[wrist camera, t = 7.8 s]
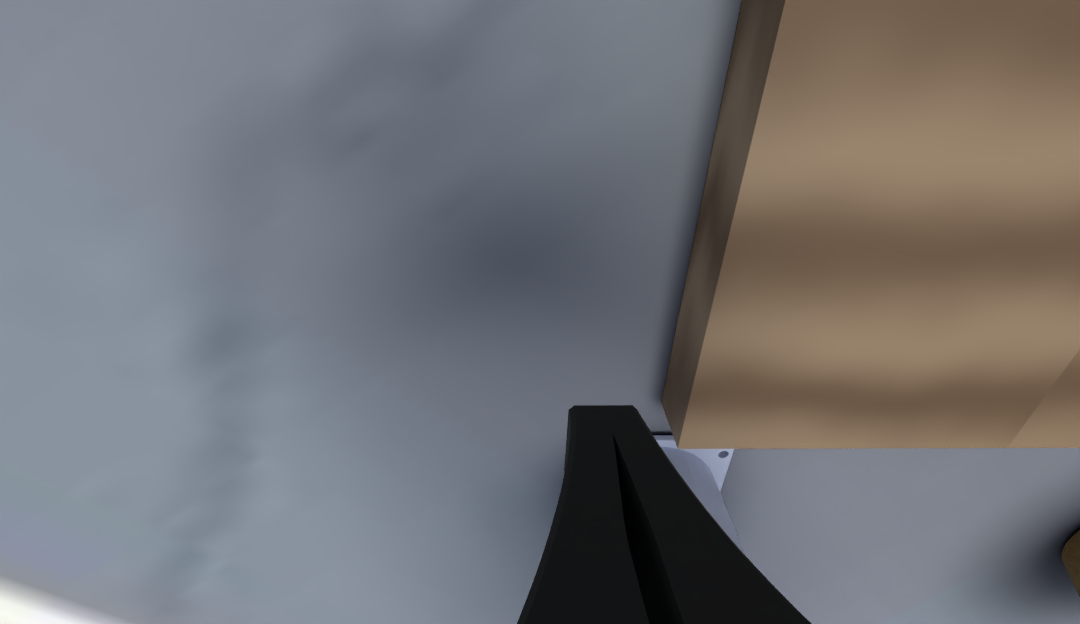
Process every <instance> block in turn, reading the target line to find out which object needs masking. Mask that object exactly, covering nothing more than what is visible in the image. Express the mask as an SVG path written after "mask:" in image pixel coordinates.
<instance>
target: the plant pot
mask: <svg viewBox="0 0 1080 624" xmlns="http://www.w3.org/2000/svg"><path fill="white" fill-rule="evenodd" d="M1062 561H1063V563H1064V565H1065V568H1066V570H1067V572H1068V574H1069V576H1070V578H1071V580H1072V582H1073V584H1074V586H1075V588H1076V590H1077V592H1078V594H1079V596H1080V530H1079V531H1078V532H1076V533H1075V534H1074V535H1073V536H1072V537H1071V538H1070V539H1069V540H1068V542H1067V543H1066V544H1065V546H1064V548H1063V550H1062Z"/></svg>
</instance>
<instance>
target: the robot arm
mask: <svg viewBox="0 0 1080 624" xmlns="http://www.w3.org/2000/svg"><path fill="white" fill-rule="evenodd" d="M722 451H723V452H722ZM733 451H734V449H678V448H677V445H676V443H675V440H674V437H673V435H652V433H651V432H650V430H649V428H648V427H647V425H646V424H645V422H644V420H643V419H642V417H641V415H640V414H639V412H638V410H637V409H636V408H635V407H634V406H633V405H624V406H573V407H572V408H571V409H569V414H568V428H567V441H566V455H565V468H564V470H565V474H564V479H563V484H562V489H561V493H560V497H559V501H558V505H557V508H556V512H555V515H554V519H553V523H552V526H551V530H550V533H549V537H548V540H547V543H546V546H545V549H544V552H543V555H542V558H541V561H540V564H539V567H538V570H537V573H536V576H535V578H534V581H533V584H532V587H531V589H530V592H529V594H528V597H527V600H526V602H525V605H524V607H523V610H522V612H521V615H520V618H519V620H518V623H517V624H811V623H810V622H809V621H808V620H807V619H806V618H805V617H804V616H803V615H802V614H801V613H800V612H799V611H798V610H797V609H796V608H795V607H794V606H793V605H792V604H791V603H790V602H789V601H788V600H787V599H786V598H785V597H784V596H783V595H782V594H781V593H780V592H779V591H778V590H777V589H776V588H775V587H774V586H773V585H772V584H771V583H770V582H769V581H768V580H767V579H766V577H765V576H764V575H763V574H762V573H761V572H760V571H759V570H758V569H757V568H756V567H755V566H754V565H753V564H752V562H751V561H750V560H749V559H748V558H747V557H746V556H745V553H744V551H743V548H742V546H741V543H740V541H739V538H738V536H737V533H736V531H735V528H734V526H733V523H732V521H731V518H730V516H729V513H728V511H727V509H726V506H725V504H724V501H723V499H722V496H721V494H720V491H721V488H722V485H723V482H724V479H725V476H726V473H727V470H728V467H729V464H730V461H731V458H732V455H733Z"/></svg>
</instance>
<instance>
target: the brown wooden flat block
mask: <svg viewBox="0 0 1080 624" xmlns="http://www.w3.org/2000/svg"><path fill="white" fill-rule="evenodd" d="M661 402H662V405H663V408H664V411H665V414H666V417H667V420H668V422H669V425H670V428H671V431H672V434H673V437H674V440H675V443H676V445H677V448H678V449H804V448H1080V0H742V4H741V9H740V14H739V19H738V24H737V29H736V34H735V39H734V44H733V48H732V53H731V58H730V63H729V68H728V73H727V78H726V83H725V88H724V93H723V98H722V103H721V108H720V113H719V118H718V123H717V128H716V133H715V138H714V143H713V148H712V153H711V158H710V163H709V168H708V173H707V178H706V183H705V188H704V193H703V197H702V202H701V207H700V212H699V217H698V222H697V227H696V232H695V237H694V242H693V247H692V252H691V257H690V262H689V267H688V272H687V277H686V282H685V287H684V292H683V297H682V302H681V307H680V312H679V317H678V322H677V327H676V332H675V337H674V342H673V346H672V351H671V356H670V361H669V366H668V371H667V376H666V381H665V386H664V391H663V396H662V401H661Z"/></svg>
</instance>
